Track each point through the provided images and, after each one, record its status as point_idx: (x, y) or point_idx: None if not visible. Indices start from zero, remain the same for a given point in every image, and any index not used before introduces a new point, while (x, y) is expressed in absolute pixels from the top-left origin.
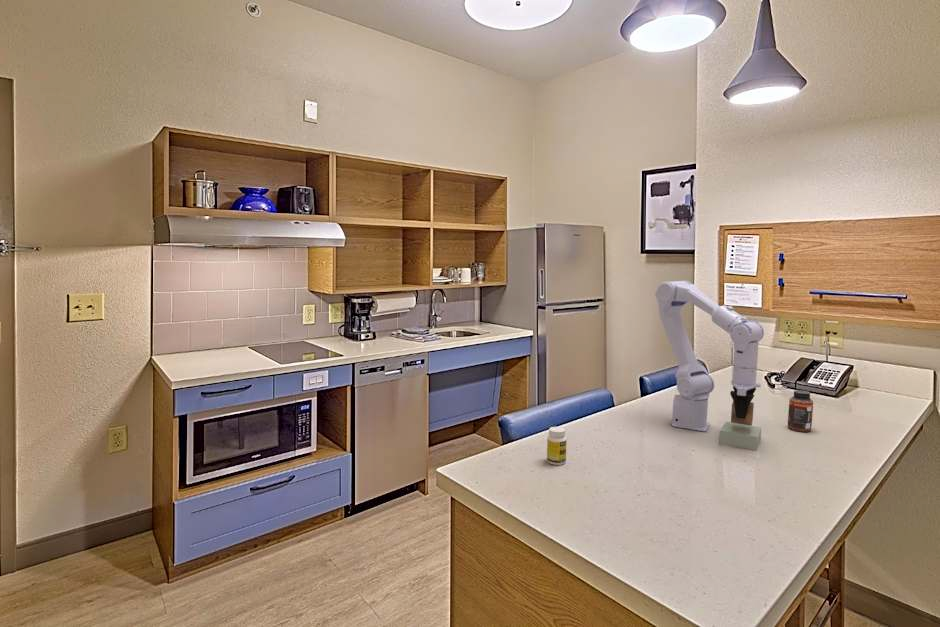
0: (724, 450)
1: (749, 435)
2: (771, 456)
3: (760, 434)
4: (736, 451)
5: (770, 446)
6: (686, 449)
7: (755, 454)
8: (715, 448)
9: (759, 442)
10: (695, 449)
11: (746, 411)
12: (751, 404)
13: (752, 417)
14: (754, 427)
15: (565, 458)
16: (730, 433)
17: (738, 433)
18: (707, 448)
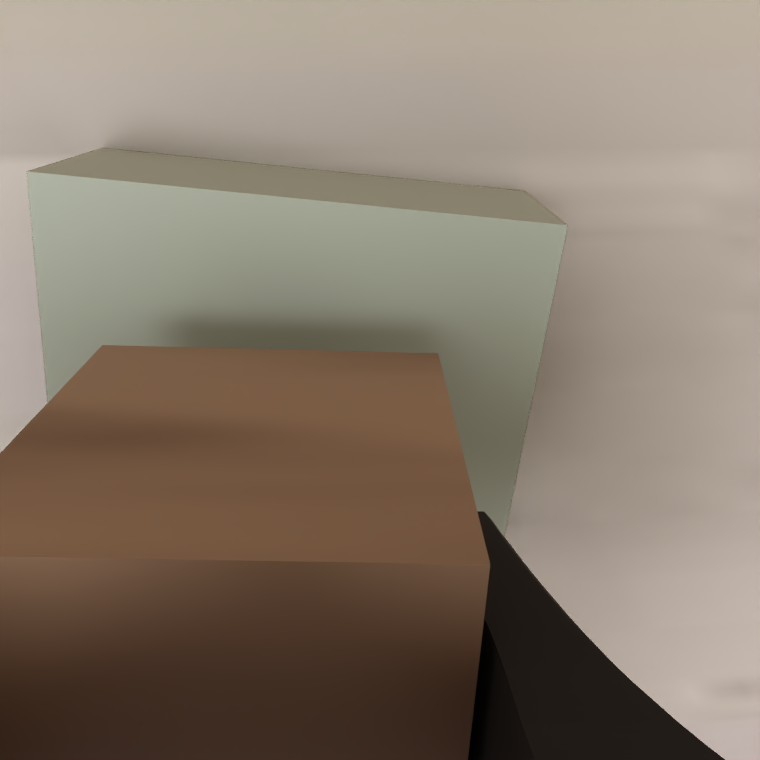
0: (653, 480)
1: (539, 326)
2: (668, 12)
3: (132, 166)
4: (640, 381)
5: (283, 22)
6: (740, 726)
7: (664, 197)
8: (627, 550)
9: (215, 160)
10: (716, 676)
11: (550, 607)
12: (169, 602)
13: (295, 397)
14: (104, 271)
15: None
16: (501, 525)
17: (512, 453)
18: (654, 604)
